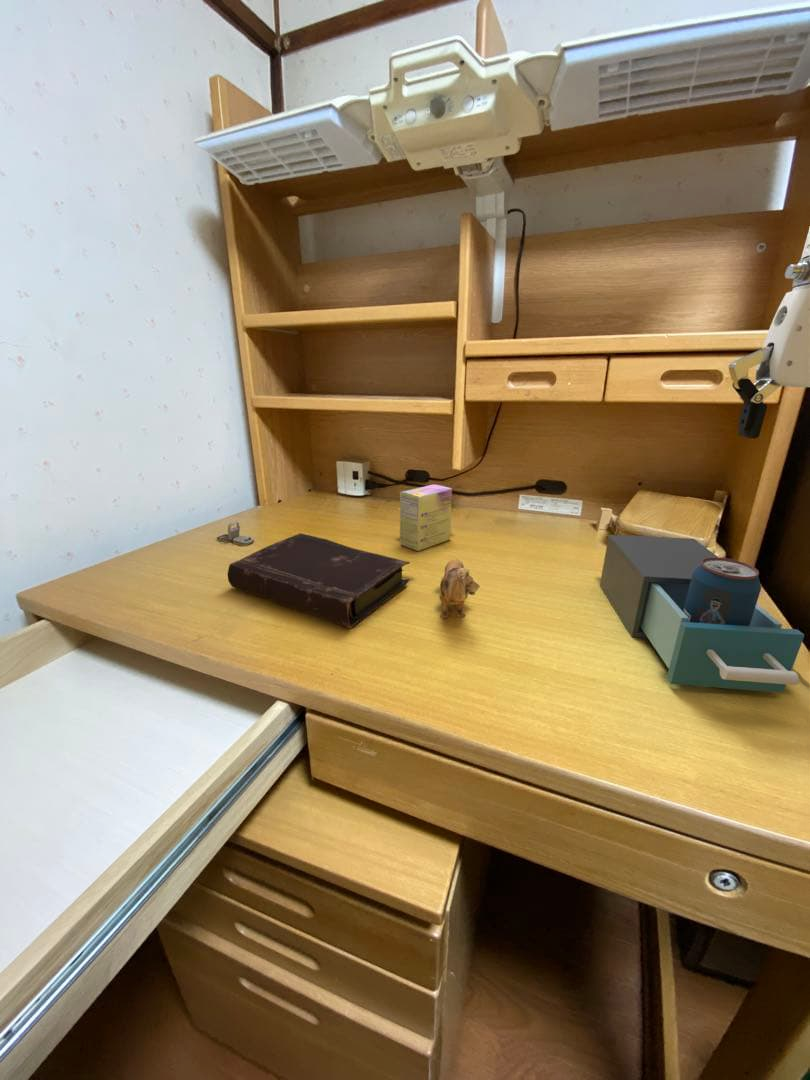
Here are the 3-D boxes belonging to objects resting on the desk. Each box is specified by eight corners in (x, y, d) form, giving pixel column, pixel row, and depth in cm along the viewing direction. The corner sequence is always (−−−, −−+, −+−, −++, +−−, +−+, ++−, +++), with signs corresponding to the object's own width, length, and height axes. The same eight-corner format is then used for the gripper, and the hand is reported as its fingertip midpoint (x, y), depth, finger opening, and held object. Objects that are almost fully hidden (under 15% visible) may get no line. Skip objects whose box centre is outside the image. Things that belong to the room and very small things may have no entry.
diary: (347, 632, 66) (345, 601, 64) (229, 590, 78) (225, 563, 76) (411, 583, 81) (411, 557, 79) (304, 554, 93) (302, 531, 91)
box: (431, 533, 105) (433, 483, 101) (450, 540, 102) (453, 488, 97) (398, 544, 99) (399, 491, 94) (418, 552, 95) (419, 496, 91)
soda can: (722, 639, 62) (746, 557, 57) (749, 671, 55) (779, 581, 51) (666, 634, 63) (686, 553, 58) (687, 665, 56) (711, 576, 52)
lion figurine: (478, 630, 67) (482, 574, 64) (442, 630, 67) (444, 574, 64) (461, 585, 81) (464, 537, 78) (431, 585, 81) (433, 537, 77)
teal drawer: (812, 722, 49) (837, 660, 46) (688, 711, 50) (706, 651, 48) (715, 623, 68) (729, 575, 65) (627, 617, 69) (637, 570, 66)
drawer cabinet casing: (733, 644, 64) (752, 582, 61) (631, 637, 66) (644, 576, 62) (681, 590, 80) (693, 538, 76) (599, 585, 81) (608, 534, 78)
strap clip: (255, 542, 99) (253, 523, 98) (245, 546, 97) (243, 527, 95) (226, 535, 103) (223, 517, 101) (215, 540, 100) (213, 521, 99)
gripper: (774, 270, 47) (730, 440, 53) (966, 268, 45) (897, 445, 51) (734, 283, 54) (699, 432, 60) (898, 281, 52) (845, 435, 58)
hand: (790, 437), depth 55 cm, fingers open, 9 cm apart
